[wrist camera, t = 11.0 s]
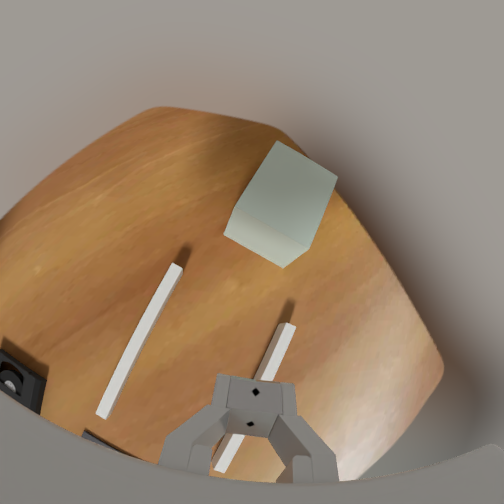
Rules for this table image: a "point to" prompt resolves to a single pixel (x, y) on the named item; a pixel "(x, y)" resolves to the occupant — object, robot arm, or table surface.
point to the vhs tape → (22, 384)
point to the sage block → (281, 206)
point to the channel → (138, 342)
